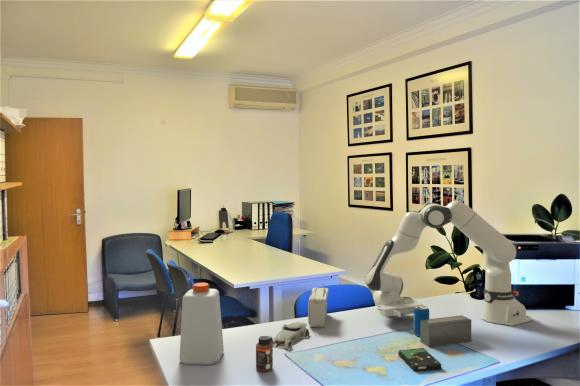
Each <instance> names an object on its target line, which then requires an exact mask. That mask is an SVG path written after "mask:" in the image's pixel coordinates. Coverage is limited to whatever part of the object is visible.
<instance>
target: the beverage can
mask: <svg viewBox="0 0 580 386" xmlns="http://www.w3.org/2000/svg"><path fill="white" fill-rule="evenodd" d="M426 319H430V309H429V306H427V305H424V304H423V305H416V306H415V308H414V314H413V325H412V327H413V332H412V333H413V334H414V335H415V336H417V337H420V325H421V320H426Z"/></svg>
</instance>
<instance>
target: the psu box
mask: <svg viewBox="0 0 580 386" xmlns="http://www.w3.org/2000/svg"><path fill="white" fill-rule="evenodd" d="M419 338H420V340H419V341H420V342H421V344H423V345H425V346H426V347H428V348H432V347H440V346H445V345H446V346H447V345H454V344H460V343H461V344H462V343H469V342H471V341H472V319H471V318H468V317H466V316H465V315H462V314H461V315H453V316H445V317H436V318H429V319H426V320H421V325H420V336H419Z"/></svg>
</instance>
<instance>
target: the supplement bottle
mask: <svg viewBox="0 0 580 386" xmlns="http://www.w3.org/2000/svg"><path fill="white" fill-rule="evenodd" d="M268 336H269V335H261V336H259V337H258V342H257V343H256V345H255V367H256V368H255V369H256V370H257V371H258V372H261V373H262V372H263V373H266V372H270V371H272V370H273V365H274V364H273V363H274V359H273V356H274V355H273V353H274V352H273V345H272V343H271V342H270V337H268Z"/></svg>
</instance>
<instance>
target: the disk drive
mask: <svg viewBox="0 0 580 386" xmlns="http://www.w3.org/2000/svg"><path fill="white" fill-rule="evenodd" d="M397 355H398V357H400V359H402V361H403V362H404V363H405V364H406V366H408V368H410V369H411V370H412V371H413V373H417V372H430V371H432V372H433V371H441V370H442V363H441V362H440V361H439V360H437V358H435V357H434V356H433V354H431V353H430V352H428V351H427V350H426V349H425V348H424V347H421V348H420V347H419V348H409V349H399V350H398V354H397Z"/></svg>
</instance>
